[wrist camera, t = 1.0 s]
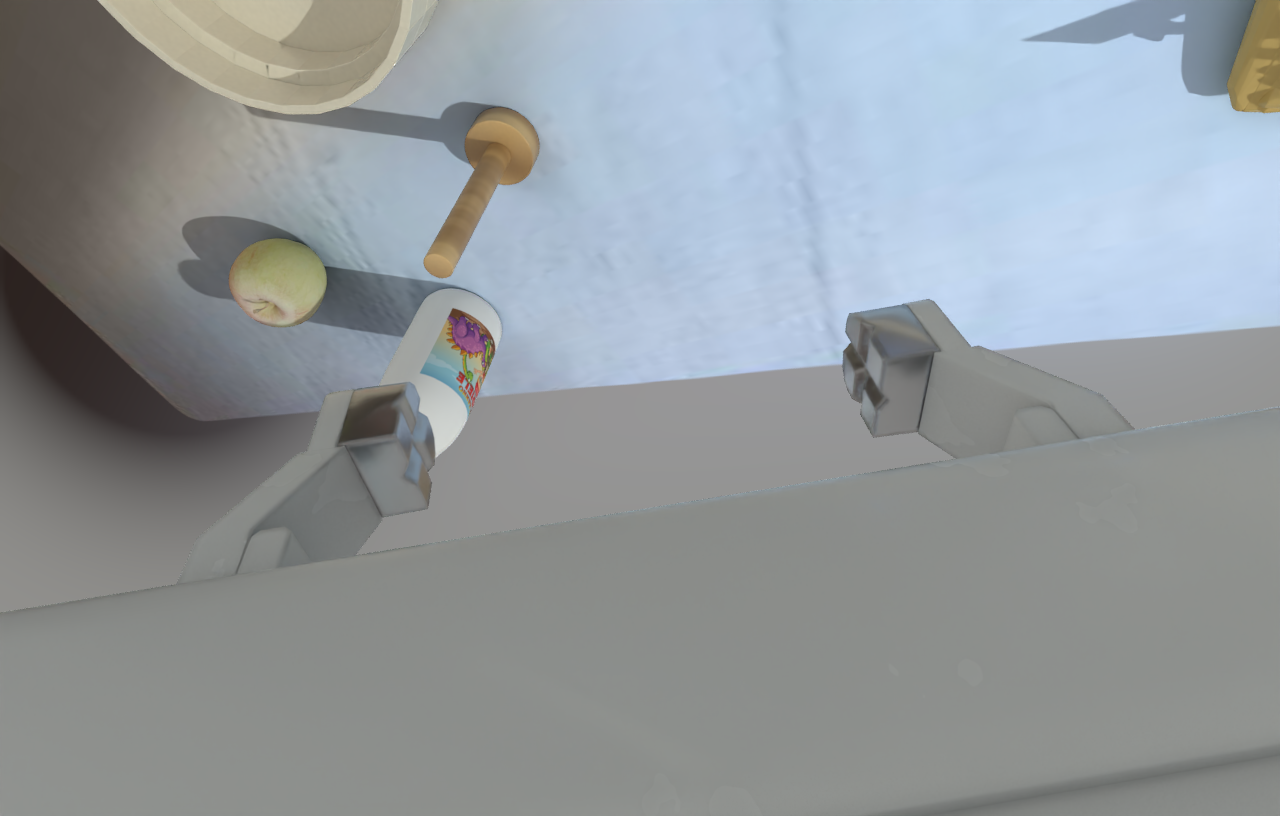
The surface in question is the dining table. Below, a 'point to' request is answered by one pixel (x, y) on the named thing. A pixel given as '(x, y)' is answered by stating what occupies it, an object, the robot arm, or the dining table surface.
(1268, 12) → the cake
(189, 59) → the bowl
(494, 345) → the milk bottle
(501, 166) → the wooden peg stand
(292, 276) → the fruit
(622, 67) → the dining table surface
